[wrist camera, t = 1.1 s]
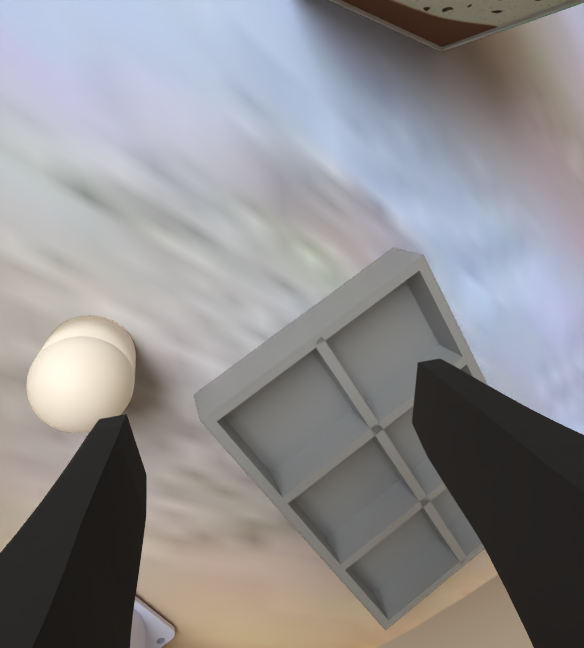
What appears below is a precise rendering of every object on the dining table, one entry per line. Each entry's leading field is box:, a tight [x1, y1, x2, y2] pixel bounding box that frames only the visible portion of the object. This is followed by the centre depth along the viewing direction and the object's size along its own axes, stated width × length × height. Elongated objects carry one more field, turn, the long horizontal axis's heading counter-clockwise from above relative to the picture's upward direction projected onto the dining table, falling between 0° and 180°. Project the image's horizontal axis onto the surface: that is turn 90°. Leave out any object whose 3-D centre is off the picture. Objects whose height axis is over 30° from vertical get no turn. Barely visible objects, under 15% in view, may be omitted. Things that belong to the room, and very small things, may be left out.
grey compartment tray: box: [194, 248, 487, 630], centre depth 29 cm, size 15×22×3 cm
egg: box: [27, 315, 136, 433], centre depth 21 cm, size 4×4×6 cm
